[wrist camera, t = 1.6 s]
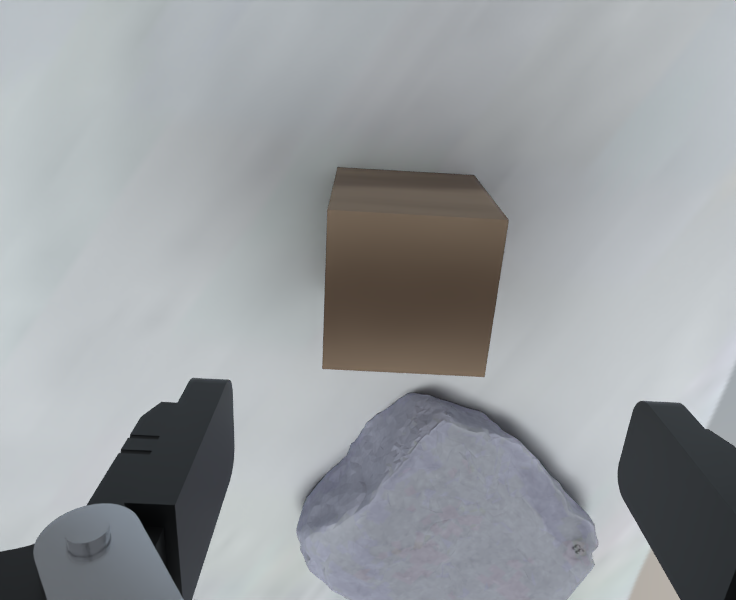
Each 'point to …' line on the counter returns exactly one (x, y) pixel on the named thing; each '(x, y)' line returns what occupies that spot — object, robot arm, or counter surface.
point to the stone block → (443, 513)
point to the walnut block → (411, 272)
